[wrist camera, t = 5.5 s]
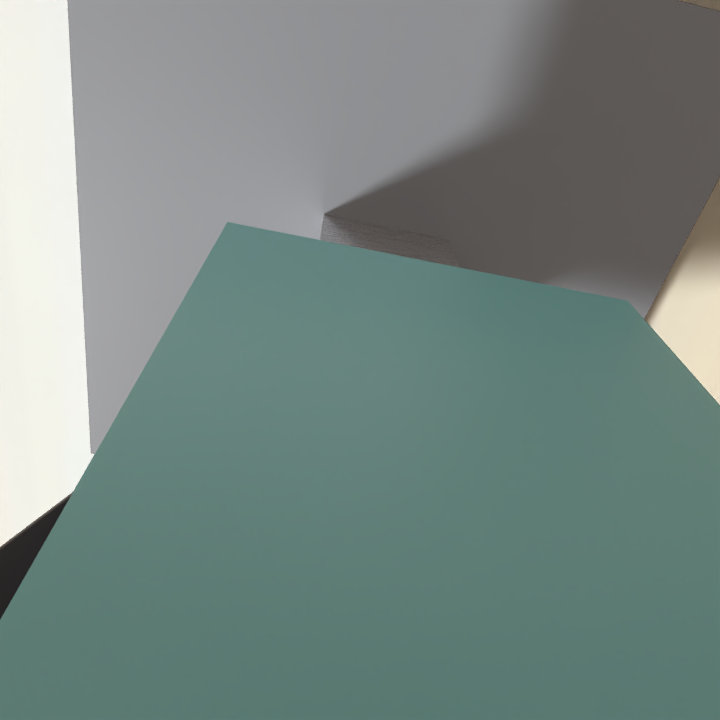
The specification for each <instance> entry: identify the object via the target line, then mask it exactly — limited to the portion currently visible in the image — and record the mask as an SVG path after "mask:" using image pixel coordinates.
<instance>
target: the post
mask: <svg viewBox="0 0 720 720" xmlns="http://www.w3.org/2000/svg"><path fill="white" fill-rule="evenodd" d="M319 240H322V241H327V242H332V243H337V244H342V245H347V246H353V247H358V248H363V249H368V250H373V251H378V252H383V253H388V254H393V255H398V256H403V257H408V258H413V259H419V260H424V261H429V262H434V263H439V264H444V265H449V266H454V267H459V268H460V266H459V264H458V261H457V258H456V256H455V253H454V250H453V248H452V245H451V243H450V240H449V239H445V238H440V237H435V236H430V235H425V234H420V233H416V232H411V231H406V230H401V229H396V228H391V227H386V226H381V225H376V224H371V223H366V222H361V221H356V220H351V219H346V218H341V217H336V216H331V215H326V214H324V215H323V221H322V227H321V232H320V238H319Z"/></svg>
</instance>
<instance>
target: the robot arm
mask: <svg viewBox="0 0 720 720" xmlns="http://www.w3.org/2000/svg"><path fill="white" fill-rule="evenodd" d="M72 493H73V492H72ZM72 493H71V494H70V495H68V496H67V497H66V498H64V499H63V500H62V501H60V502H59V503H58V504H56V505H55V506H54V507H52V508H51V509H50V510H48V511H47V512H46V513H45V514H43V515H42V516H41V517H39V518H38V519H37V520H35V521H34V522H33V523H31V524H30V525H29V526H27V527H26V528H25V529H23V530H22V531H21V532H19V533H18V534H17V535H15V536H14V537H13V538H11V539H10V540H9V541H7V542H6V543H5V544H3V545H2V546H1V547H0V620H1V618H2V616H3V614H4V613H5V611H6V609H7V607H8V605H9V604H10V602H11V600H12V598H13V597H14V595H15V593H16V591H17V590H18V588H19V586H20V584H21V583H22V581H23V579H24V577H25V576H26V574H27V572H28V570H29V569H30V567H31V565H32V563H33V562H34V560H35V558H36V556H37V555H38V553H39V551H40V549H41V548H42V546H43V544H44V542H45V541H46V539H47V537H48V535H49V534H50V532H51V530H52V528H53V527H54V525H55V523H56V521H57V520H58V518H59V516H60V514H61V513H62V511H63V509H64V507H65V506H66V504H67V502H68V500H69V499H70V497H71V495H72Z"/></svg>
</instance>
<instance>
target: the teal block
mask: <svg viewBox="0 0 720 720" xmlns="http://www.w3.org/2000/svg"><path fill="white" fill-rule="evenodd" d="M0 720H720V405H719V404H718V403H717V401H716V400H715V399H714V398H713V397H712V396H711V395H710V394H709V392H708V391H707V390H706V389H705V388H704V387H703V386H702V384H701V383H700V382H699V381H698V380H697V379H696V378H695V376H694V375H693V374H692V373H691V372H690V371H689V370H688V369H687V367H686V366H685V365H684V364H683V363H682V362H681V361H680V359H679V358H678V357H677V356H676V355H675V354H674V353H673V352H672V350H671V349H670V348H669V347H668V346H667V345H666V344H665V342H664V341H663V340H662V339H661V338H660V337H659V336H658V334H657V333H656V332H655V331H654V330H653V329H652V328H651V327H650V325H649V324H648V323H647V322H646V321H645V320H644V319H643V317H642V316H641V315H640V314H639V313H638V312H637V311H636V309H635V308H634V307H633V306H632V305H631V304H630V303H629V302H628V301H627V300H622V299H617V298H611V297H606V296H601V295H596V294H591V293H586V292H581V291H576V290H571V289H566V288H561V287H556V286H551V285H545V284H540V283H535V282H530V281H525V280H520V279H515V278H510V277H505V276H500V275H495V274H490V273H485V272H479V271H474V270H469V269H464V268H459V267H454V266H449V265H444V264H439V263H434V262H429V261H424V260H419V259H413V258H408V257H403V256H398V255H393V254H388V253H383V252H378V251H373V250H368V249H363V248H358V247H353V246H347V245H342V244H337V243H332V242H327V241H322V240H317V239H312V238H307V237H302V236H297V235H292V234H287V233H282V232H276V231H271V230H266V229H261V228H256V227H251V226H246V225H241V224H236V223H231V222H227V224H226V225H225V227H224V229H223V231H222V232H221V234H220V236H219V238H218V239H217V241H216V243H215V245H214V246H213V248H212V250H211V252H210V253H209V255H208V257H207V259H206V260H205V262H204V264H203V266H202V267H201V269H200V271H199V273H198V274H197V276H196V278H195V280H194V281H193V283H192V285H191V287H190V288H189V290H188V292H187V294H186V295H185V297H184V299H183V301H182V302H181V304H180V306H179V308H178V309H177V311H176V313H175V315H174V316H173V318H172V320H171V322H170V323H169V325H168V327H167V329H166V330H165V332H164V334H163V336H162V337H161V339H160V341H159V343H158V344H157V346H156V348H155V350H154V351H153V353H152V355H151V357H150V358H149V360H148V362H147V364H146V365H145V367H144V369H143V371H142V372H141V374H140V376H139V378H138V379H137V381H136V383H135V385H134V386H133V388H132V390H131V392H130V393H129V395H128V397H127V399H126V400H125V402H124V404H123V406H122V407H121V409H120V411H119V413H118V415H117V416H116V418H115V420H114V422H113V423H112V425H111V427H110V429H109V430H108V432H107V434H106V436H105V437H104V439H103V441H102V443H101V444H100V446H99V448H98V450H97V451H96V453H95V455H94V457H93V458H92V460H91V462H90V464H89V465H88V467H87V469H86V471H85V472H84V474H83V476H82V478H81V479H80V481H79V483H78V485H77V486H76V488H75V490H74V492H73V493H72V495H71V497H70V499H69V500H68V502H67V504H66V506H65V507H64V509H63V511H62V513H61V514H60V516H59V518H58V520H57V521H56V523H55V525H54V527H53V528H52V530H51V532H50V534H49V535H48V537H47V539H46V541H45V542H44V544H43V546H42V548H41V549H40V551H39V553H38V555H37V556H36V558H35V560H34V562H33V563H32V565H31V567H30V569H29V570H28V572H27V574H26V576H25V577H24V579H23V581H22V583H21V584H20V586H19V588H18V590H17V591H16V593H15V595H14V597H13V598H12V600H11V602H10V604H9V605H8V607H7V609H6V611H5V613H4V614H3V616H2V618H1V620H0Z"/></svg>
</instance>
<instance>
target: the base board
mask: <svg viewBox="0 0 720 720" xmlns="http://www.w3.org/2000/svg"><path fill="white" fill-rule="evenodd" d="M68 19H69V39H70V58H71V77H72V97H73V116H74V135H75V155H76V174H77V194H78V213H79V232H80V252H81V271H82V290H83V310H84V329H85V348H86V368H87V387H88V406H89V426H90V445H91V453H93V454H95V453H96V451H97V450H98V448H99V446H100V444H101V443H102V441H103V439H104V437H105V436H106V434H107V432H108V430H109V429H110V427H111V425H112V423H113V422H114V420H115V418H116V416H117V415H118V413H119V411H120V409H121V407H122V406H123V404H124V402H125V400H126V399H127V397H128V395H129V393H130V392H131V390H132V388H133V386H134V385H135V383H136V381H137V379H138V378H139V376H140V374H141V372H142V371H143V369H144V367H145V365H146V364H147V362H148V360H149V358H150V357H151V355H152V353H153V351H154V350H155V348H156V346H157V344H158V343H159V341H160V339H161V337H162V336H163V334H164V332H165V330H166V329H167V327H168V325H169V323H170V322H171V320H172V318H173V316H174V315H175V313H176V311H177V309H178V308H179V306H180V304H181V302H182V301H183V299H184V297H185V295H186V294H187V292H188V290H189V288H190V287H191V285H192V283H193V281H194V280H195V278H196V276H197V274H198V273H199V271H200V269H201V267H202V266H203V264H204V262H205V260H206V259H207V257H208V255H209V253H210V252H211V250H212V248H213V246H214V245H215V243H216V241H217V239H218V238H219V236H220V234H221V232H222V231H223V229H224V227H225V225H226V224H227V222H231V223H236V224H241V225H246V226H251V227H256V228H261V229H266V230H271V231H276V232H282V233H287V234H292V235H297V236H302V237H307V238H312V239H317V240H319V238H320V232H321V227H322V221H323V215H324V214H326V215H331V216H336V217H341V218H346V219H351V220H356V221H361V222H366V223H371V224H376V225H381V226H386V227H391V228H396V229H401V230H406V231H411V232H416V233H420V234H425V235H430V236H435V237H440V238H445V239H449V240H450V243H451V245H452V248H453V250H454V253H455V256H456V258H457V261H458V264H459V266H460V268H464V269H469V270H474V271H479V272H485V273H490V274H495V275H500V276H505V277H510V278H515V279H520V280H525V281H530V282H535V283H540V284H545V285H551V286H556V287H561V288H566V289H571V290H576V291H581V292H586V293H591V294H596V295H601V296H606V297H611V298H617V299H622V300H627V301H628V302H629V303H630V304H631V305H632V306H633V307H634V308H635V309H636V311H637V312H638V313H639V314H640V315H641V316H642V317H643V319H644V318H645V317H646V315H647V313H648V311H649V309H650V307H651V305H652V303H653V301H654V300H655V298H656V296H657V294H658V292H659V290H660V288H661V286H662V285H663V283H664V281H665V279H666V277H667V275H668V273H669V271H670V270H671V268H672V266H673V264H674V262H675V260H676V258H677V256H678V254H679V253H680V251H681V249H682V247H683V245H684V243H685V241H686V239H687V238H688V236H689V234H690V232H691V230H692V228H693V226H694V224H695V223H696V221H697V219H698V217H699V215H700V213H701V211H702V209H703V208H704V206H705V204H706V202H707V200H708V198H709V196H710V194H711V192H712V191H713V189H714V187H715V185H716V183H717V181H718V179H719V177H720V11H717V10H713V9H709V8H705V7H701V6H698V5H694V4H690V3H686V2H682V1H679V0H68Z"/></svg>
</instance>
